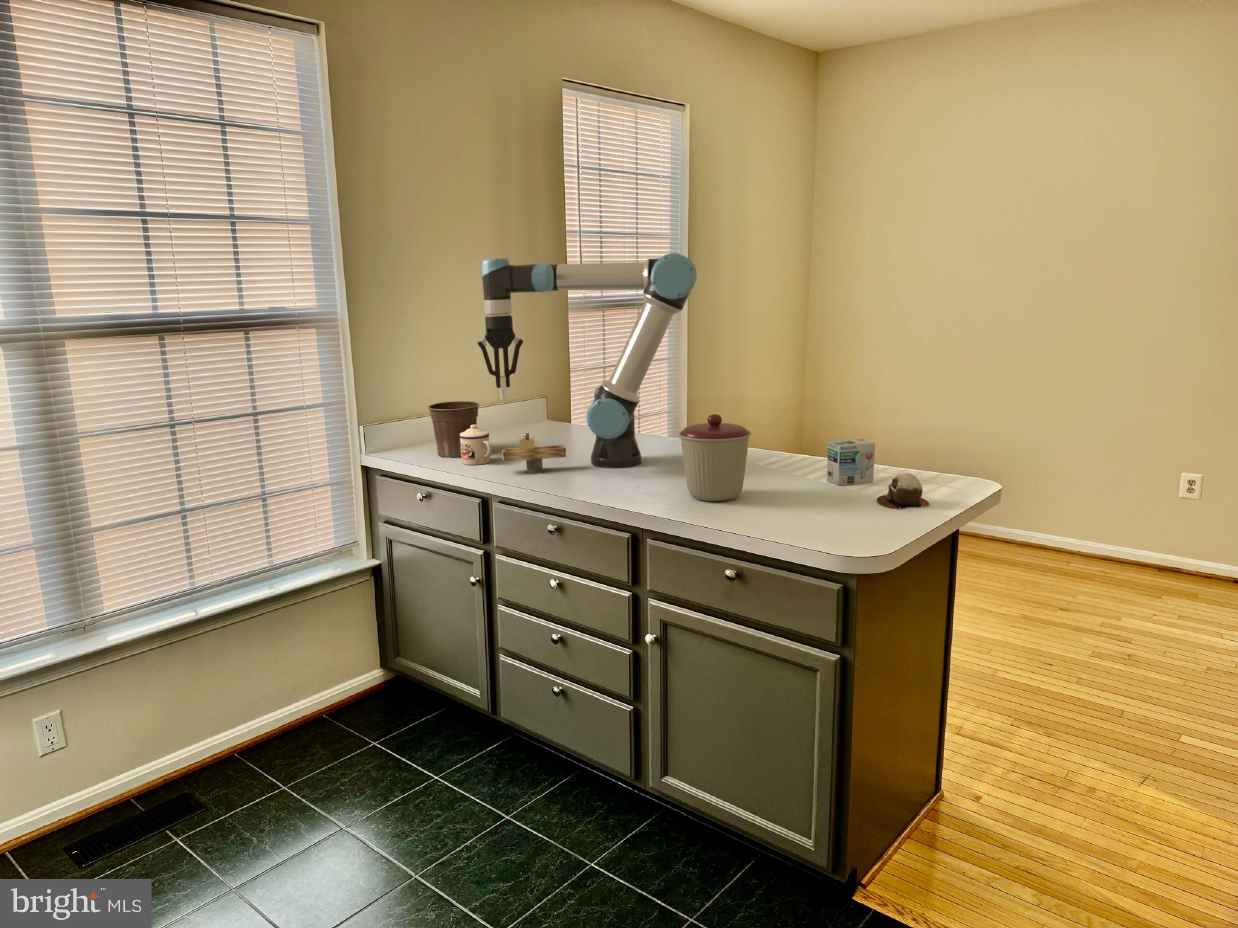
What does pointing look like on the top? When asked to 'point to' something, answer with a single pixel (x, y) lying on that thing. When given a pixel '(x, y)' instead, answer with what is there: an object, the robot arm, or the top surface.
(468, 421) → the plant pot
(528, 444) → the rider
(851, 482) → the light bulb box
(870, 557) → the top surface
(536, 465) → the beam
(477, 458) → the teacup with lid
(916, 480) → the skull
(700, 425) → the canister
